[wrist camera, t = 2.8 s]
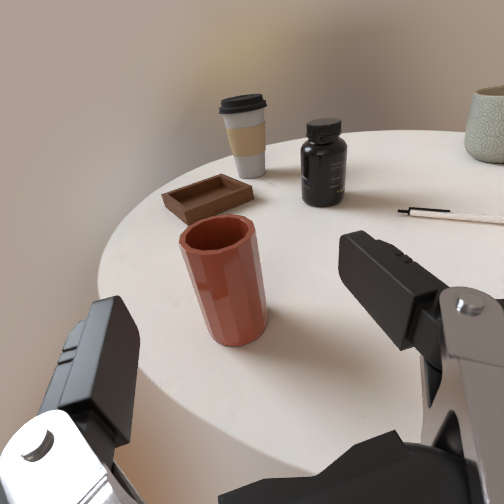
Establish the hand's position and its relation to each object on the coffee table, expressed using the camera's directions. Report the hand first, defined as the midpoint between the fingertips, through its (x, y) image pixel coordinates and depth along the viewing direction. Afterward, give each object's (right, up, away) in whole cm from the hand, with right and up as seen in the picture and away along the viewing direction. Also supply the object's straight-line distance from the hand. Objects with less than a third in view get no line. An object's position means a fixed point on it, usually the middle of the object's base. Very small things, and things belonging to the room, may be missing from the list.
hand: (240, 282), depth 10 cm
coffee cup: (0, +18, +52) cm, 55 cm away
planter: (+45, +18, +41) cm, 63 cm away
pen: (+29, +5, +25) cm, 39 cm away
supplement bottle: (+12, +10, +36) cm, 40 cm away
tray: (-8, +10, +42) cm, 44 cm away
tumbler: (-1, -6, +17) cm, 18 cm away
